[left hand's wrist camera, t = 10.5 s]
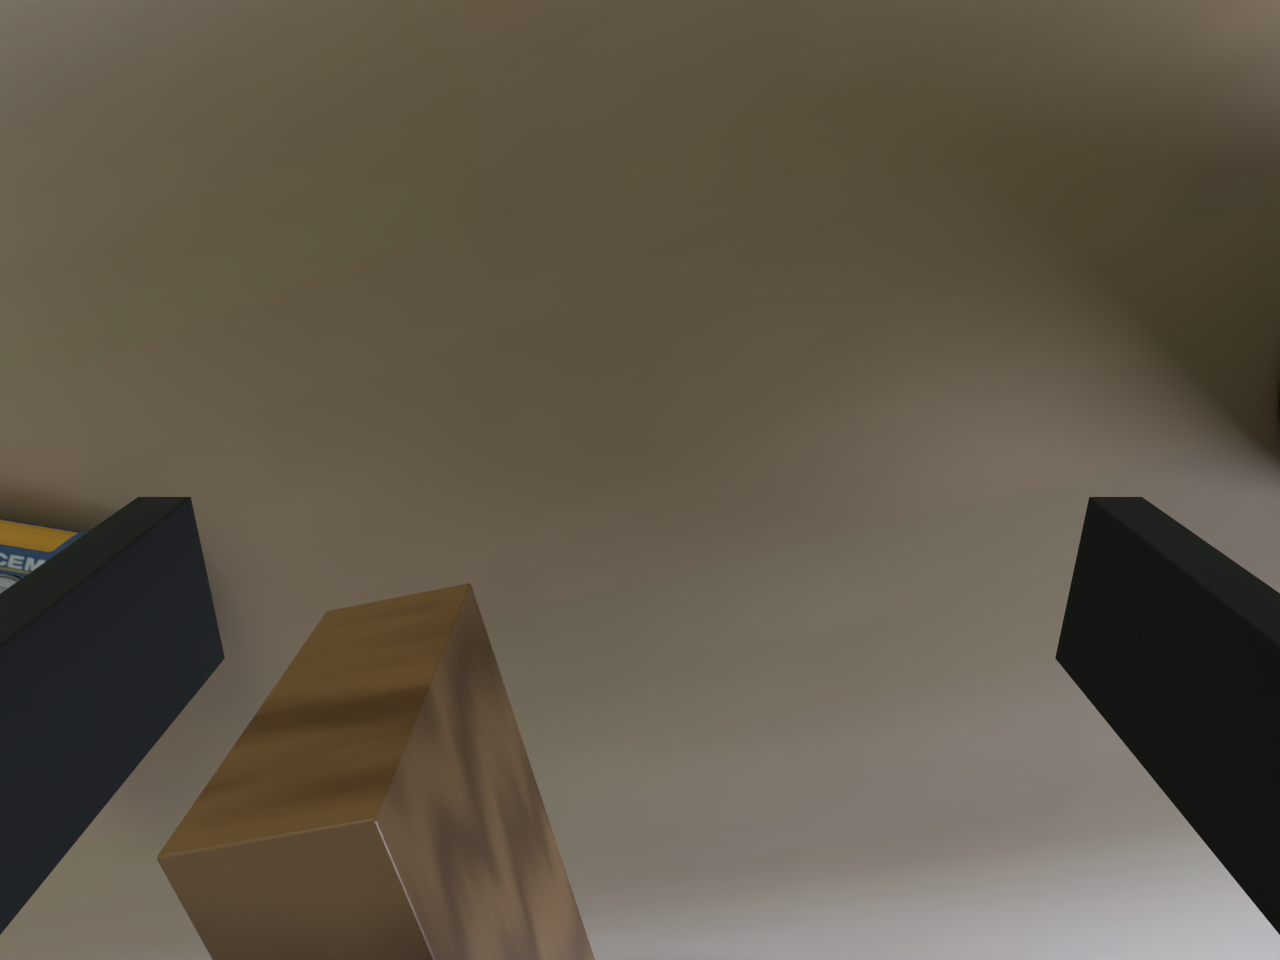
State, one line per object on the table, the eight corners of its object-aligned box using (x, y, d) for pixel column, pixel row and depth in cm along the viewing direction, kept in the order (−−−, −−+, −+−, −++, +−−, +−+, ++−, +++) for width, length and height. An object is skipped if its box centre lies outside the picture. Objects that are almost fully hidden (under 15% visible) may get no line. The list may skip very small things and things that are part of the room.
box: (326, 610, 32) (154, 858, 21) (471, 581, 32) (375, 819, 21) (486, 1006, 40) (423, 1343, 29) (605, 988, 40) (588, 1324, 28)
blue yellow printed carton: (220, 762, 50) (221, 533, 45) (182, 813, 46) (178, 569, 41) (-140, 706, 49) (-181, 466, 44) (-210, 753, 45) (-264, 495, 40)
